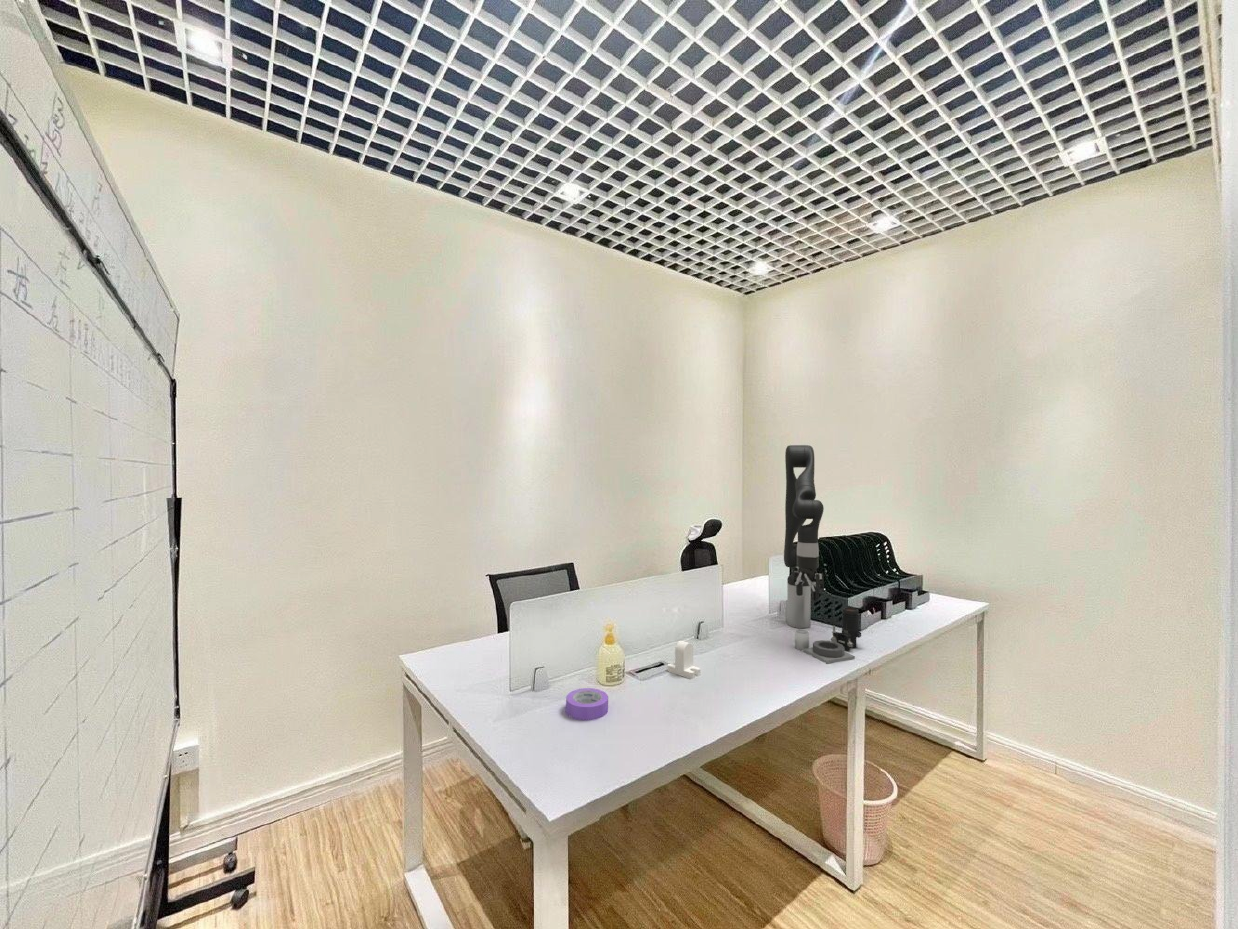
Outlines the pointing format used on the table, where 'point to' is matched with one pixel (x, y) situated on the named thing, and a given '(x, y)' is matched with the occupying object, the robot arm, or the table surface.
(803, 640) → the cap
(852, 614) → the scope
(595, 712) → the masking tape
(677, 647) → the cable organizer
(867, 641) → the table surface
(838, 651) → the ring on square plate
